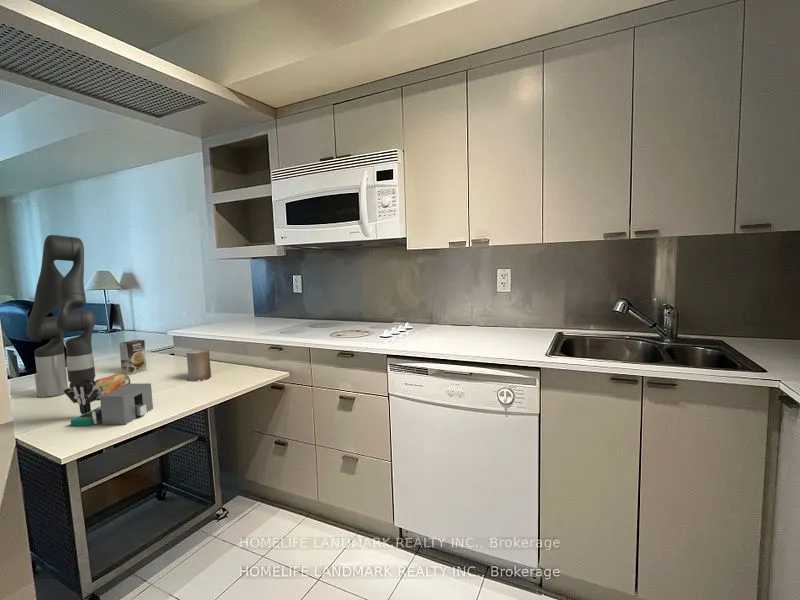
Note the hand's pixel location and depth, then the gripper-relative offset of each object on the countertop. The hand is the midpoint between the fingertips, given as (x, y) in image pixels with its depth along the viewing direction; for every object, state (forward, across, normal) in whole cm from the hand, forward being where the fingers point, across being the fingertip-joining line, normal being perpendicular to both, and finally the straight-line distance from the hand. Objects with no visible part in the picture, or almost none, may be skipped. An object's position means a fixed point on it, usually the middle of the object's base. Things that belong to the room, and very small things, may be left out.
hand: (85, 413), depth 138 cm
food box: (+2, +25, -58) cm, 63 cm away
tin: (+2, +9, -23) cm, 25 cm away
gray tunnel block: (+1, -16, 0) cm, 16 cm away
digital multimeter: (+2, -5, +1) cm, 5 cm away
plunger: (+1, -15, -4) cm, 16 cm away
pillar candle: (+2, -16, -46) cm, 49 cm away
